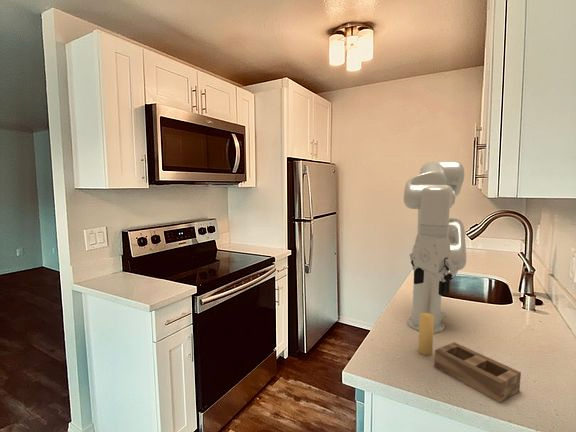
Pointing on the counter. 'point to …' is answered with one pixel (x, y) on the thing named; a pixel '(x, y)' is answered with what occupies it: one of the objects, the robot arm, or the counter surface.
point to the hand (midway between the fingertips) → (430, 288)
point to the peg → (426, 334)
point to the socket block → (478, 371)
